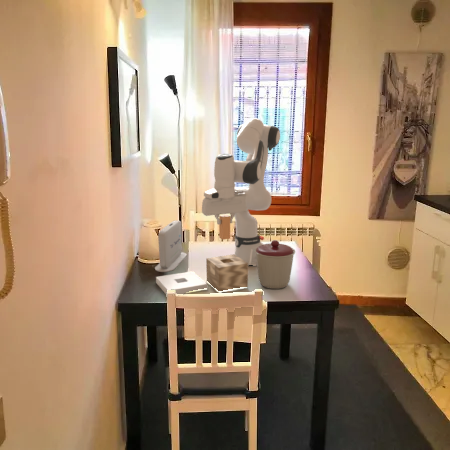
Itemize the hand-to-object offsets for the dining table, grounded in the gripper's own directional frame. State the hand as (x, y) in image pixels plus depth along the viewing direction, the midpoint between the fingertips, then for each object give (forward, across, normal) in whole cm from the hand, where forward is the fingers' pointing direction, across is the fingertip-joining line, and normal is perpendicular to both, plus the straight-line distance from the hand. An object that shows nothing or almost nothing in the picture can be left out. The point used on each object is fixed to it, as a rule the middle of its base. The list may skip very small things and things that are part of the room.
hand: (224, 223), depth 202 cm
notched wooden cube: (+29, -1, 0) cm, 29 cm away
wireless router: (+30, +11, -43) cm, 53 cm away
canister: (+29, -21, +8) cm, 37 cm away
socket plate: (+29, +18, -8) cm, 35 cm away
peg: (+7, 0, 0) cm, 7 cm away
